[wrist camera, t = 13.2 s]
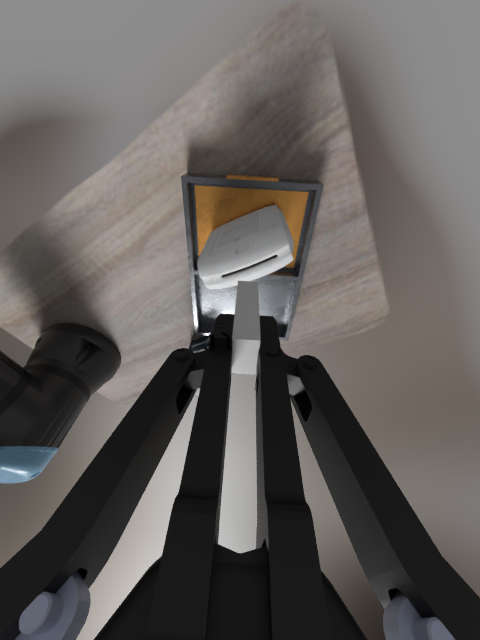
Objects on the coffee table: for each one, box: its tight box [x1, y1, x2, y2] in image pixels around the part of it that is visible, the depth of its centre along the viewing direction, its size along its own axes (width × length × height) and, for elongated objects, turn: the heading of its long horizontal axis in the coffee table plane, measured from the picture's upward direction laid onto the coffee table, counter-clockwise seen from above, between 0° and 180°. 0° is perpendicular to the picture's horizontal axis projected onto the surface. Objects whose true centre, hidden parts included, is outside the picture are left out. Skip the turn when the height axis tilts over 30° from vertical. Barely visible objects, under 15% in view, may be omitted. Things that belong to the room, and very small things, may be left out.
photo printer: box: [197, 205, 294, 289], centre depth 27 cm, size 10×4×12 cm, turn 113°
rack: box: [181, 173, 323, 341], centre depth 35 cm, size 16×24×3 cm
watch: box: [189, 336, 208, 398], centre depth 42 cm, size 6×8×11 cm
